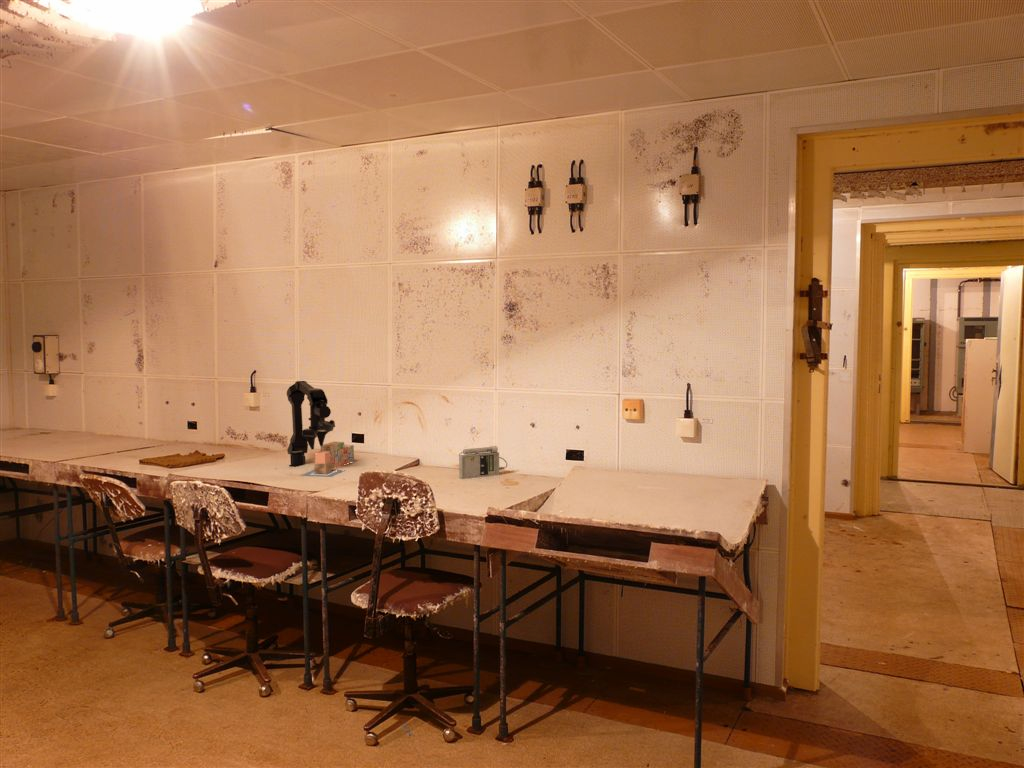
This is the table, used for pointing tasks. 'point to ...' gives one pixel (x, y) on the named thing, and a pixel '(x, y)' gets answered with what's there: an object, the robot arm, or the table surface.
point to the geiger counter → (479, 462)
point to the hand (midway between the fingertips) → (317, 447)
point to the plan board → (333, 473)
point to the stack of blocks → (339, 453)
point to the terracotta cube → (322, 457)
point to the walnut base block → (323, 468)
